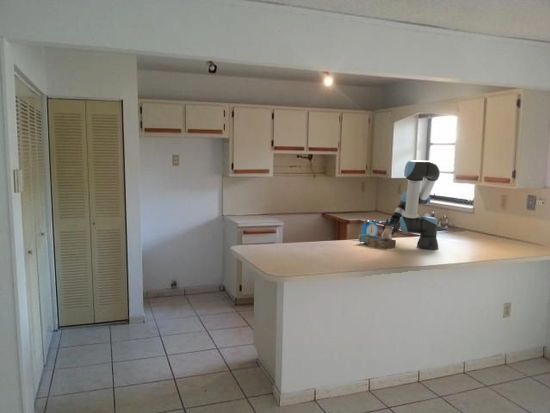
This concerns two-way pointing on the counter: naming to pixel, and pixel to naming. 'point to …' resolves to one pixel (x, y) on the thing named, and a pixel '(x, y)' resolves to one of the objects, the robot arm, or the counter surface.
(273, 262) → the counter surface
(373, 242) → the stand
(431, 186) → the robot arm
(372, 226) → the alarm clock
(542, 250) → the counter surface
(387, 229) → the canister
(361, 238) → the tray
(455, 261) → the counter surface
